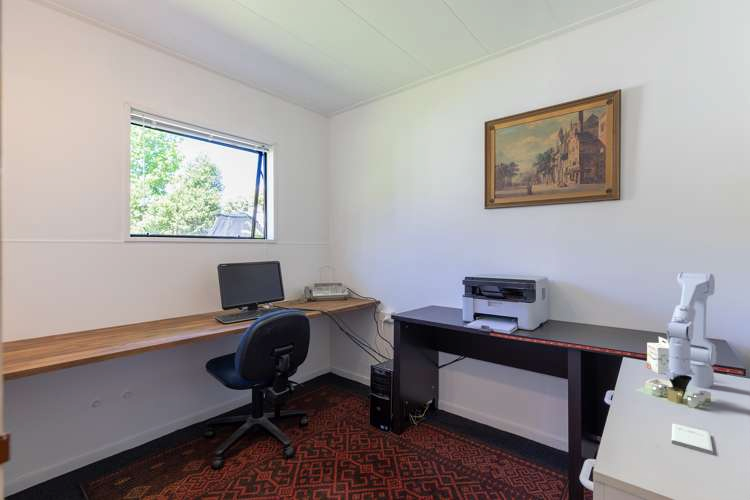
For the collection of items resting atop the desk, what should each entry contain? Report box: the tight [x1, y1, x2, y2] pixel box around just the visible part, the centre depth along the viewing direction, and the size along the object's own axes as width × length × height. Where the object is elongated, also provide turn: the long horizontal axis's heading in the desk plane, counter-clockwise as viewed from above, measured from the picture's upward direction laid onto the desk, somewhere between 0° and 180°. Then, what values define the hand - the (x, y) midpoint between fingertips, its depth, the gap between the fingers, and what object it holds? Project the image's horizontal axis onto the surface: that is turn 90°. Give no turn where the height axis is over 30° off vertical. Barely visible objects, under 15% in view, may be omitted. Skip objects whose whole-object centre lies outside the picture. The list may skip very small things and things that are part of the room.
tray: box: [644, 377, 673, 388], centre depth 132 cm, size 8×8×2 cm
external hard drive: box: [671, 423, 714, 456], centre depth 98 cm, size 2×8×12 cm
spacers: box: [652, 384, 712, 410], centre depth 123 cm, size 12×13×3 cm
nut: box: [667, 387, 683, 404], centre depth 121 cm, size 4×5×4 cm
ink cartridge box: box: [646, 336, 669, 375], centre depth 151 cm, size 9×5×15 cm, turn 168°
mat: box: [634, 385, 719, 411], centre depth 126 cm, size 17×18×1 cm
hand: (679, 395), depth 123 cm, fingers closed
